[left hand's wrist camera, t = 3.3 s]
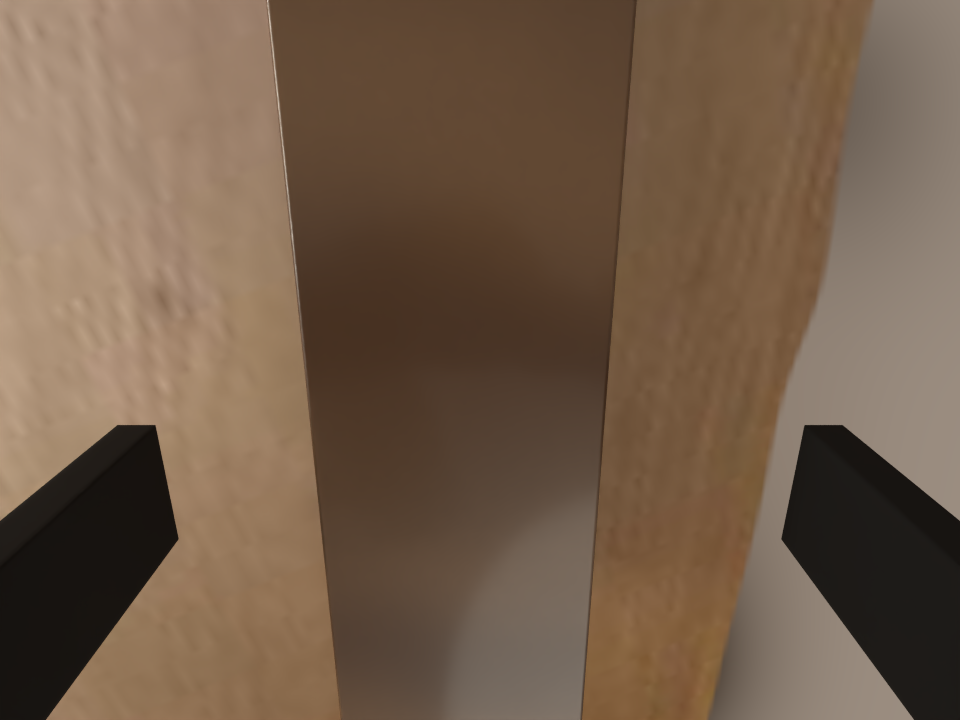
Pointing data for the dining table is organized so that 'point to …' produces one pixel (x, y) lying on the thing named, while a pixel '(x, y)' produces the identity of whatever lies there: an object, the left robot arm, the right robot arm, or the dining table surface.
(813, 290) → the dining table surface
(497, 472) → the plank
